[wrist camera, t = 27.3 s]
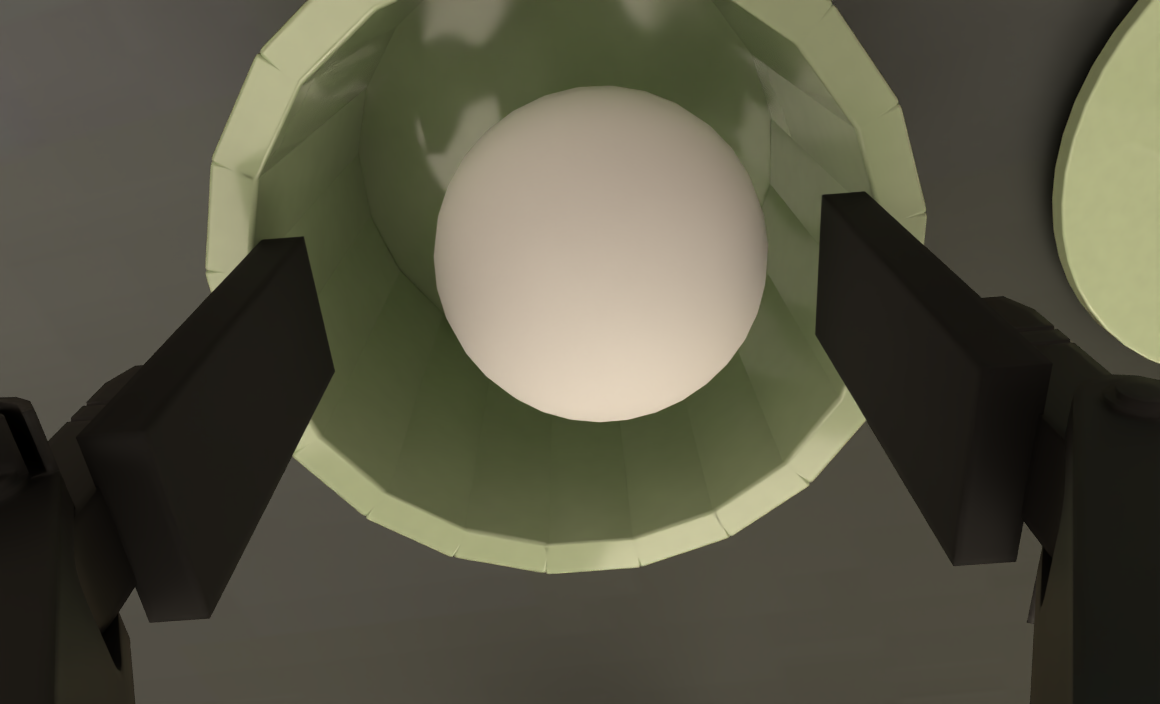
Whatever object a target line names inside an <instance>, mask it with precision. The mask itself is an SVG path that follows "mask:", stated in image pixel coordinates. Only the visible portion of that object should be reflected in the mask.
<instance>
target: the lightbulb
mask: <svg viewBox="0 0 1160 704" xmlns="http://www.w3.org/2000/svg"><path fill="white" fill-rule="evenodd" d="M767 253H768V242H767V235H766V228H765V220H764V214H763V211H762V209H761V206H760V203H759V200H758V198H757V195H756V192H755V189H754V187H753V184H752V181H751V179H750V176H749V174H748V173H747V171H746V170H745V168H744V166H743V165H742V163H741V162H740V160H739V158H738V157H737V155H736V154H735V152H734V150H733V149H732V148H731V147H730V146H729V145H728V144H727V143H726V142H725V141H724V140H723V138H722V137H721V136H720V135H719V134H718V133H717V132H716V131H715V130H714V129H713V128H712V127H711V126H710V125H708V124H707V123H705V122H704V121H702V120H701V119H699V118H698V117H696V116H695V115H693V114H692V113H690V112H689V111H687V110H686V109H684V108H683V107H681V106H679V105H678V104H676V103H675V102H672V101H669V100H667V99H664V98H662V97H659V96H657V95H654V94H651V93H649V92H646V91H642V90H636V89H630V88H624V87H618V86H590V87H576V88H572V89H568V90H564V91H560V92H556V93H552V94H549V95H545V96H543V97H540V98H538V99H536V100H534V101H532V102H530V103H528V104H526V105H524V106H522V107H520V108H518V109H516V110H514V111H512V112H511V113H510V114H508V115H507V116H506V117H504V118H503V119H502V120H501V121H499V122H498V123H497V124H495V125H494V126H493V127H491V128H490V129H489V130H487V131H486V132H485V133H484V135H483V136H482V137H481V138H480V139H479V140H478V142H477V143H476V144H475V145H474V146H473V147H472V148H471V150H470V151H469V152H468V153H467V154H466V155H465V156H464V158H463V160H462V162H461V163H460V165H459V167H458V169H457V170H456V172H455V174H454V176H453V177H452V179H451V181H450V183H449V185H448V187H447V190H446V193H445V196H444V199H443V202H442V206H441V209H440V212H439V215H438V221H437V230H436V239H435V249H434V266H435V275H436V285H437V291H438V294H439V297H440V300H441V303H442V306H443V309H444V312H445V316H446V318H447V320H448V322H449V324H450V326H451V328H452V329H453V331H454V333H455V335H456V336H457V338H458V340H459V342H460V343H461V345H462V347H463V349H464V351H465V352H466V354H467V355H468V356H469V357H470V358H471V360H472V361H473V362H474V363H475V364H476V365H477V366H478V368H479V369H480V370H481V371H482V372H483V373H484V374H485V376H487V377H488V378H489V379H490V380H492V381H493V382H494V383H496V384H497V385H498V386H500V387H501V388H502V389H504V390H505V391H506V392H507V393H509V394H510V395H512V396H513V397H515V398H516V399H518V400H520V401H522V402H524V403H526V404H528V405H530V406H532V407H534V408H536V409H538V410H540V411H542V412H545V413H548V414H552V415H556V416H559V417H563V418H566V419H570V420H580V421H591V422H608V421H620V420H629V419H633V418H637V417H640V416H644V415H648V414H652V413H656V412H658V411H660V410H662V409H665V408H667V407H669V406H671V405H673V404H676V403H678V402H680V401H682V400H684V399H685V398H687V397H688V396H690V395H691V394H693V393H694V392H696V391H697V390H699V389H700V388H701V387H703V386H704V385H706V384H707V383H708V382H709V381H710V380H711V379H712V378H713V377H714V376H715V375H716V374H717V373H719V372H720V371H721V370H722V369H723V368H724V367H725V366H726V365H727V364H728V363H729V361H730V360H731V358H732V357H733V356H734V354H735V353H736V352H737V350H738V349H739V347H740V346H741V345H742V343H743V342H744V340H745V339H746V337H747V335H748V332H749V330H750V328H751V326H752V324H753V322H754V320H755V318H756V316H757V314H758V310H759V306H760V302H761V298H762V295H763V291H764V287H765V281H766V269H767Z"/></svg>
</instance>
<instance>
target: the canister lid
mask: <svg viewBox="0 0 1160 704" xmlns="http://www.w3.org/2000/svg"><path fill="white" fill-rule="evenodd" d="M1052 208H1053V229H1054V234H1055V239H1056V245H1057V250H1058V255H1059V258H1060V261H1061V264H1062V267H1063V269H1064V272H1065V275H1066V277H1067V280H1068V282H1069V284H1070V286H1071V288H1072V289H1073V291H1074V293H1075V294H1076V296H1077V298H1078V300H1079V301H1080V303H1081V304H1082V306H1083V307H1084V308H1085V309H1086V310H1087V312H1088V313H1089V314H1090V315H1091V316H1092V318H1093V319H1094V320H1095V321H1096V322H1097V323H1098V324H1099V325H1100V326H1101V327H1102V328H1104V329H1105V330H1106V331H1107V332H1108V333H1109V334H1111V335H1112V336H1113V337H1114V338H1115V339H1117V340H1118V341H1119V342H1121V343H1122V344H1123V345H1125V346H1126V347H1128V348H1130V349H1131V350H1133V351H1135V352H1136V353H1138V354H1140V355H1141V356H1143V357H1145V358H1146V359H1149V360H1151V361H1154V362H1156V363H1159V364H1160V0H1138V1H1137V2H1136V4H1135V5H1134V6H1133V8H1132V9H1131V10H1130V11H1129V13H1128V14H1127V15H1126V17H1125V18H1124V19H1123V20H1122V22H1121V23H1120V24H1119V26H1118V27H1117V28H1116V29H1115V31H1114V32H1113V33H1112V35H1111V37H1110V38H1109V40H1108V41H1107V43H1106V44H1105V46H1104V48H1103V49H1102V51H1101V52H1100V54H1099V56H1098V57H1097V59H1096V60H1095V62H1094V64H1093V65H1092V67H1091V69H1090V71H1089V73H1088V75H1087V77H1086V79H1085V81H1084V83H1083V85H1082V87H1081V89H1080V91H1079V93H1078V95H1077V97H1076V99H1075V102H1074V105H1073V107H1072V110H1071V113H1070V116H1069V118H1068V121H1067V124H1066V127H1065V130H1064V132H1063V136H1062V140H1061V144H1060V149H1059V153H1058V157H1057V162H1056V166H1055V174H1054V184H1053V195H1052Z"/></svg>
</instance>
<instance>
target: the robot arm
mask: <svg viewBox="0 0 1160 704" xmlns="http://www.w3.org/2000/svg"><path fill="white" fill-rule="evenodd" d="M815 335H816V337H817V339H818V340H819V342H820V344H821V345H822V347H823V349H824V350H825V352H826V354H827V355H828V357H829V359H830V360H831V362H832V364H833V365H834V367H835V369H836V370H837V372H838V374H839V376H840V377H841V379H842V381H843V382H844V384H845V386H846V387H847V389H848V391H849V392H850V394H851V396H852V397H853V399H854V401H855V402H856V404H857V406H858V407H859V409H860V411H861V412H862V414H863V416H864V417H865V419H866V421H867V422H868V424H869V426H870V427H871V429H872V431H873V432H874V434H875V436H876V437H877V439H878V441H879V442H880V444H881V446H882V447H883V449H884V451H885V452H886V454H887V456H888V457H889V459H890V461H891V462H892V464H893V466H894V467H895V469H896V471H897V473H898V474H899V476H900V478H901V479H902V481H903V483H904V484H905V486H906V488H907V489H908V491H909V493H910V494H911V496H912V498H913V499H914V501H915V503H916V504H917V506H918V508H919V509H920V511H921V513H922V514H923V516H924V518H925V519H926V521H927V523H928V524H929V526H930V528H931V529H932V531H933V533H934V534H935V536H936V538H937V539H938V541H939V543H940V544H941V546H942V548H943V549H944V551H945V553H946V554H947V556H948V558H949V559H950V561H951V563H952V564H953V566H961V565H975V564H989V563H1003V562H1016V559H1017V554H1018V548H1019V543H1020V538H1021V532H1022V527H1023V521H1024V522H1025V523H1026V525H1027V526H1028V527H1029V529H1030V530H1031V531H1032V533H1033V534H1034V535H1035V537H1036V538H1037V539H1038V541H1039V542H1040V543H1041V545H1042V551H1041V556H1040V561H1039V566H1038V571H1037V576H1036V581H1035V586H1034V591H1033V596H1032V600H1031V605H1030V610H1029V615H1028V620H1027V623H1031V624H1034V638H1033V657H1032V676H1031V695H1030V704H1160V380H1156V379H1151V378H1146V377H1142V376H1133V375H1114V374H1113V375H1112V374H1111V373H1110V372H1108V371H1107V370H1106V369H1105V368H1104V367H1102V366H1101V365H1100V364H1099V363H1098V362H1096V361H1095V360H1094V359H1093V358H1092V357H1090V356H1089V355H1088V354H1087V353H1086V352H1085V351H1083V350H1082V349H1081V348H1080V347H1079V346H1077V345H1076V344H1075V343H1070V339H1069V338H1068V337H1067V336H1065V335H1064V334H1063V333H1062V332H1061V331H1059V330H1058V329H1054V326H1053V325H1052V324H1051V323H1050V322H1049V321H1048V320H1046V319H1045V318H1044V317H1043V316H1042V315H1040V314H1039V313H1038V312H1037V311H1036V310H1034V309H1032V308H1030V307H1027V306H1025V305H1023V304H1020V303H1018V302H1015V301H1013V300H1011V299H1008V298H1006V297H1004V296H1001V297H988V298H981V297H980V296H979V295H978V294H977V293H976V292H974V291H973V290H972V289H971V288H970V287H969V286H968V285H967V284H966V283H965V282H964V281H962V280H961V279H960V278H959V277H958V276H957V275H956V274H955V273H954V272H953V271H952V270H950V269H949V268H948V267H947V266H946V265H945V264H944V263H943V262H942V261H941V260H940V259H938V258H937V257H936V256H935V255H934V254H933V253H932V252H931V251H930V250H929V249H928V248H926V247H925V246H924V245H923V244H922V243H921V242H920V241H919V240H918V239H917V238H915V237H914V236H913V235H912V234H911V233H910V232H909V231H908V230H907V229H906V228H905V227H903V226H902V225H901V224H900V223H899V222H898V221H897V220H896V219H895V218H894V217H893V216H891V215H890V214H889V213H888V212H887V211H886V210H885V209H884V208H883V207H882V206H881V205H879V204H878V203H877V202H876V201H875V200H874V199H873V198H872V197H871V196H870V195H869V194H867V193H866V192H865V191H862V192H849V193H837V194H825V195H822V199H821V220H820V241H819V262H818V283H817V304H816V325H815ZM334 373H335V369H334V364H333V360H332V356H331V351H330V347H329V343H328V339H327V334H326V330H325V326H324V321H323V317H322V313H321V308H320V304H319V300H318V295H317V291H316V287H315V282H314V278H313V274H312V270H311V265H310V261H309V257H308V252H307V248H306V244H305V239H304V236H301V237H288V238H276V239H263V240H261V241H260V242H259V243H258V244H257V245H256V246H255V247H254V248H253V249H252V250H251V251H250V253H249V254H248V255H247V256H246V257H245V258H244V259H243V260H242V261H241V262H240V263H239V264H238V265H237V266H236V267H235V268H234V270H233V271H232V272H231V273H230V274H229V275H228V276H227V277H226V278H225V279H224V280H223V281H222V282H221V283H220V284H219V285H218V287H217V288H216V289H215V290H214V291H213V292H212V293H211V294H210V295H209V296H208V297H207V298H206V299H205V300H204V301H203V302H202V304H201V305H200V306H199V307H198V308H197V309H196V310H195V311H194V312H193V313H192V314H191V315H190V316H189V317H188V318H187V319H186V321H185V322H184V323H183V324H182V325H181V326H180V327H179V328H178V329H177V330H176V331H175V332H174V333H173V334H172V335H171V336H170V338H169V339H168V340H167V341H166V342H165V343H164V344H163V345H162V346H161V347H160V348H159V349H158V350H157V351H156V352H155V353H154V355H153V356H152V357H151V358H150V359H149V360H148V361H147V362H146V363H145V364H144V365H140V366H134V367H132V368H130V369H129V370H127V371H125V372H124V373H122V374H120V375H119V376H117V377H115V378H113V379H112V380H110V381H108V382H107V383H105V384H104V385H103V386H102V387H101V388H100V389H99V390H98V391H97V392H96V393H95V394H94V395H93V396H92V397H91V398H90V399H89V400H88V401H87V402H86V403H87V406H82V407H81V408H80V409H79V410H78V411H77V412H76V413H75V414H74V415H73V416H72V417H71V422H67V423H66V424H65V425H64V426H63V427H62V428H61V429H60V430H59V431H58V432H57V433H56V434H55V435H54V436H53V437H52V438H51V439H50V440H49V441H47V439H46V436H45V434H44V431H43V429H42V427H41V424H40V422H39V419H38V417H37V415H36V412H35V410H34V408H33V406H32V404H31V402H30V401H28V400H25V399H21V398H18V397H3V398H0V704H135V695H134V683H133V672H132V660H131V648H130V638H129V635H128V633H127V631H126V628H125V626H124V623H123V621H122V619H121V616H120V614H119V611H120V609H121V608H122V606H123V605H124V603H125V602H126V600H127V598H128V597H129V595H130V594H131V592H132V591H133V589H134V588H135V587H136V590H137V592H138V595H139V597H140V600H141V602H142V605H143V607H144V610H145V612H146V615H147V617H148V620H149V622H150V623H152V622H166V621H181V620H195V619H209V618H210V617H211V615H212V613H213V611H214V609H215V607H216V605H217V603H218V601H219V599H220V597H221V595H222V593H223V591H224V589H225V587H226V585H227V583H228V581H229V579H230V577H231V575H232V574H233V572H234V570H235V568H236V566H237V564H238V562H239V560H240V558H241V556H242V554H243V552H244V550H245V548H246V546H247V544H248V542H249V540H250V538H251V536H252V534H253V532H254V530H255V528H256V526H257V524H258V522H259V520H260V518H261V516H262V514H263V512H264V510H265V509H266V507H267V505H268V503H269V501H270V499H271V497H272V495H273V493H274V491H275V489H276V487H277V485H278V483H279V481H280V479H281V477H282V475H283V473H284V471H285V469H286V467H287V465H288V463H289V461H290V459H291V457H292V455H293V453H294V451H295V449H296V447H297V445H298V443H299V442H300V440H301V438H302V436H303V434H304V432H305V430H306V428H307V426H308V424H309V422H310V420H311V418H312V416H313V414H314V412H315V410H316V408H317V406H318V404H319V402H320V400H321V398H322V396H323V394H324V392H325V390H326V388H327V386H328V384H329V382H330V380H331V378H332V377H333V375H334Z"/></svg>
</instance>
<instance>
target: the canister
mask: <svg viewBox="0 0 1160 704" xmlns="http://www.w3.org/2000/svg"><path fill="white" fill-rule="evenodd" d="M590 86H618V87H624V88H630V89H636V90H642V91H646V92H649V93H651V94H654V95H657V96H659V97H662V98H664V99H667V100H669V101H672V102H675V103H676V104H678V105H679V106H681V107H683V108H684V109H686V110H687V111H689V112H690V113H692V114H693V115H695V116H696V117H698V118H699V119H701V120H702V121H704V122H705V123H707V124H708V125H710V126H711V127H712V128H713V129H714V130H715V131H716V132H717V133H718V134H719V135H720V136H721V137H722V138H723V140H724V141H725V142H726V143H727V144H728V145H729V146H730V147H731V148H732V149H733V150H734V152H735V154H736V155H737V157H738V158H739V160H740V162H741V163H742V165H743V166H744V168H745V170H746V171H747V173H748V174H749V176H750V179H751V181H752V184H753V187H754V189H755V192H756V195H757V198H758V200H759V203H760V206H761V209H762V211H763V214H764V220H765V228H766V235H767V242H768V253H767V269H766V281H765V287H764V291H763V295H762V298H761V302H760V306H759V310H758V314H757V316H756V318H755V320H754V322H753V324H752V326H751V328H750V330H749V332H748V335H747V337H746V339H745V340H744V342H743V343H742V345H741V346H740V347H739V349H738V350H737V352H736V353H735V354H734V356H733V357H732V358H731V360H730V361H729V363H728V364H727V365H726V366H725V367H724V368H723V369H722V370H721V371H720V372H719V373H717V374H716V375H715V376H714V377H713V378H712V379H711V380H710V381H709V382H708V383H707V384H706V385H704V386H703V387H701V388H700V389H699V390H697V391H696V392H694V393H693V394H691V395H690V396H688V397H687V398H685V399H684V400H682V401H680V402H678V403H676V404H673V405H671V406H669V407H667V408H665V409H662V410H660V411H658V412H656V413H652V414H648V415H644V416H640V417H637V418H633V419H629V420H620V421H608V422H591V421H580V420H570V419H566V418H563V417H559V416H556V415H552V414H548V413H545V412H542V411H540V410H538V409H536V408H534V407H532V406H530V405H528V404H526V403H524V402H522V401H520V400H518V399H516V398H515V397H513V396H512V395H510V394H509V393H507V392H506V391H505V390H504V389H502V388H501V387H500V386H498V385H497V384H496V383H494V382H493V381H492V380H490V379H489V378H488V377H487V376H485V374H484V373H483V372H482V371H481V370H480V369H479V368H478V366H477V365H476V364H475V363H474V362H473V361H472V360H471V358H470V357H469V356H468V355H467V354H466V352H465V351H464V349H463V347H462V345H461V343H460V342H459V340H458V338H457V336H456V335H455V333H454V331H453V329H452V328H451V326H450V324H449V322H448V320H447V318H446V316H445V312H444V309H443V306H442V303H441V300H440V297H439V294H438V291H437V285H436V275H435V266H434V249H435V239H436V230H437V221H438V215H439V212H440V209H441V206H442V202H443V199H444V196H445V193H446V190H447V187H448V185H449V183H450V181H451V179H452V177H453V176H454V174H455V172H456V170H457V169H458V167H459V165H460V163H461V162H462V160H463V158H464V156H465V155H466V154H467V153H468V152H469V151H470V150H471V148H472V147H473V146H474V145H475V144H476V143H477V142H478V140H479V139H480V138H481V137H482V136H483V135H484V133H485V132H486V131H487V130H489V129H490V128H491V127H493V126H494V125H495V124H497V123H498V122H499V121H501V120H502V119H503V118H504V117H506V116H507V115H508V114H510V113H511V112H512V111H514V110H516V109H518V108H520V107H522V106H524V105H526V104H528V103H530V102H532V101H534V100H536V99H538V98H540V97H543V96H545V95H549V94H552V93H556V92H560V91H564V90H568V89H572V88H576V87H590ZM212 161H213V162H212V163H211V168H210V187H209V206H208V224H207V243H206V262H205V267H206V270H207V271H206V277H207V281H208V284H209V288H210V291H211V293H212V292H213V291H214V290H215V289H216V288H217V287H218V285H219V284H220V283H221V282H222V281H223V280H224V279H225V278H226V277H227V276H228V275H229V274H230V273H231V272H232V271H233V270H234V268H235V267H236V266H237V265H238V264H239V263H240V262H241V261H242V260H243V259H244V258H245V257H246V256H247V255H248V254H249V253H250V251H251V250H252V249H253V248H254V247H255V246H256V245H257V244H258V243H259V242H260V241H261V240H263V239H276V238H288V237H301V236H304V239H305V244H306V248H307V252H308V257H309V261H310V265H311V270H312V274H313V278H314V282H315V287H316V291H317V295H318V300H319V304H320V308H321V313H322V317H323V321H324V326H325V330H326V334H327V339H328V343H329V347H330V351H331V356H332V360H333V364H334V369H335V373H334V375H333V377H332V378H331V380H330V382H329V384H328V386H327V388H326V390H325V392H324V394H323V396H322V398H321V400H320V402H319V404H318V406H317V408H316V410H315V412H314V414H313V416H312V418H311V420H310V422H309V424H308V426H307V428H306V430H305V432H304V434H303V436H302V438H301V440H300V442H299V443H298V445H297V447H296V449H295V451H294V453H293V457H294V458H295V459H296V460H297V461H298V462H300V463H301V464H302V465H303V466H304V467H306V468H307V469H308V470H309V471H310V472H312V473H313V474H314V475H315V476H316V477H318V478H319V479H320V480H321V481H322V482H324V483H325V484H326V485H327V486H328V487H330V488H331V489H332V490H333V491H335V492H336V493H337V494H338V495H339V496H341V497H342V498H343V499H344V500H345V501H347V502H348V503H349V504H350V505H351V506H353V507H354V508H355V509H356V510H357V511H359V512H360V513H361V514H362V515H366V518H367V519H368V520H371V521H373V522H375V523H377V524H379V525H382V526H384V527H386V528H388V529H390V530H393V531H395V532H397V533H399V534H401V535H404V536H406V537H408V538H410V539H412V540H415V541H417V542H419V543H421V544H423V545H426V546H428V547H430V548H432V549H434V550H437V551H439V552H441V553H443V554H445V555H448V556H450V557H452V556H454V555H455V557H457V558H461V559H467V560H472V561H478V562H484V563H490V564H495V565H501V566H507V567H512V568H518V569H524V570H529V571H535V572H541V573H544V572H545V571H546V573H547V574H558V573H571V572H585V571H599V570H612V569H626V568H638V567H640V565H641V566H646V565H649V564H652V563H655V562H658V561H661V560H664V559H667V558H670V557H673V556H676V555H679V554H682V553H685V552H688V551H691V550H694V549H697V548H700V547H703V546H706V545H709V544H712V543H715V542H718V541H721V540H724V539H727V538H728V537H729V535H730V536H733V535H735V534H736V533H738V532H739V531H741V530H742V529H744V528H745V527H747V526H748V525H750V524H751V523H753V522H754V521H756V520H758V519H759V518H761V517H762V516H764V515H765V514H767V513H768V512H770V511H771V510H773V509H774V508H776V507H777V506H779V505H780V504H782V503H783V502H785V501H787V500H788V499H790V498H791V497H793V496H794V495H796V494H797V493H799V492H800V491H802V490H803V489H805V488H806V487H808V486H809V482H812V481H814V479H815V478H816V477H817V476H818V475H819V474H820V473H821V471H822V470H823V469H824V468H825V467H826V466H827V465H828V463H829V462H830V461H831V460H832V459H833V458H834V456H835V455H836V454H837V453H838V452H839V451H840V450H841V448H842V447H843V446H844V445H845V444H846V443H847V442H848V440H849V439H850V438H851V437H852V436H853V435H854V434H855V432H856V431H857V430H858V429H859V428H860V427H861V425H862V424H863V423H864V422H865V421H866V419H865V417H864V416H863V414H862V412H861V411H860V409H859V407H858V406H857V404H856V402H855V401H854V399H853V397H852V396H851V394H850V392H849V391H848V389H847V387H846V386H845V384H844V382H843V381H842V379H841V377H840V376H839V374H838V372H837V370H836V369H835V367H834V365H833V364H832V362H831V360H830V359H829V357H828V355H827V354H826V352H825V350H824V349H823V347H822V345H821V344H820V342H819V340H818V339H817V337H816V335H815V325H816V304H817V283H818V262H819V241H820V220H821V199H822V195H825V194H837V193H849V192H862V191H865V192H866V193H867V194H869V195H870V196H871V197H872V198H873V199H874V200H875V201H876V202H877V203H878V204H879V205H881V206H882V207H883V208H884V209H885V210H886V211H887V212H888V213H889V214H890V215H891V216H893V217H894V218H895V219H896V220H897V221H898V222H899V223H900V224H901V225H902V226H903V227H905V228H906V229H907V230H908V231H909V232H910V233H911V234H912V235H913V236H914V237H915V238H917V239H918V240H919V241H920V242H921V243H922V244H923V245H924V239H925V229H926V219H927V215H926V213H925V212H926V205H925V201H924V197H923V193H922V189H921V185H920V181H919V176H918V172H917V168H916V164H915V160H914V156H913V152H912V148H911V144H910V140H909V135H908V131H907V127H906V123H905V119H904V115H903V111H902V107H901V106H900V105H899V104H898V98H897V97H896V95H895V94H894V92H893V91H892V89H891V88H890V86H889V85H888V83H887V82H886V80H885V79H884V77H883V76H882V74H881V73H880V71H879V70H878V68H877V67H876V65H875V64H874V62H873V61H872V59H871V58H870V56H869V55H868V53H867V52H866V50H865V49H864V47H863V46H862V45H861V43H860V42H859V40H858V39H857V37H856V36H855V34H854V33H853V31H852V30H851V28H850V27H849V25H848V24H847V22H846V21H845V19H844V18H843V16H842V15H841V13H840V12H839V10H838V9H837V7H836V6H834V5H832V2H831V0H307V1H306V2H305V3H304V4H303V5H302V6H301V7H300V8H299V9H298V10H297V11H296V12H295V13H294V14H293V15H292V16H291V17H290V19H289V20H288V21H287V22H286V23H285V24H284V25H283V26H282V27H281V28H280V29H279V30H278V31H277V32H276V33H275V34H274V35H273V36H272V37H271V38H270V39H269V40H268V41H267V42H266V44H265V45H264V46H263V47H262V48H261V51H260V53H258V54H257V55H256V56H255V58H254V60H253V62H252V65H251V67H250V69H249V72H248V74H247V76H246V79H245V81H244V83H243V86H242V88H241V90H240V93H239V95H238V97H237V100H236V102H235V104H234V107H233V109H232V111H231V114H230V116H229V118H228V121H227V123H226V125H225V128H224V130H223V132H222V135H221V137H220V139H219V142H218V144H217V146H216V149H215V151H214V153H213V156H212Z"/></svg>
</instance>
